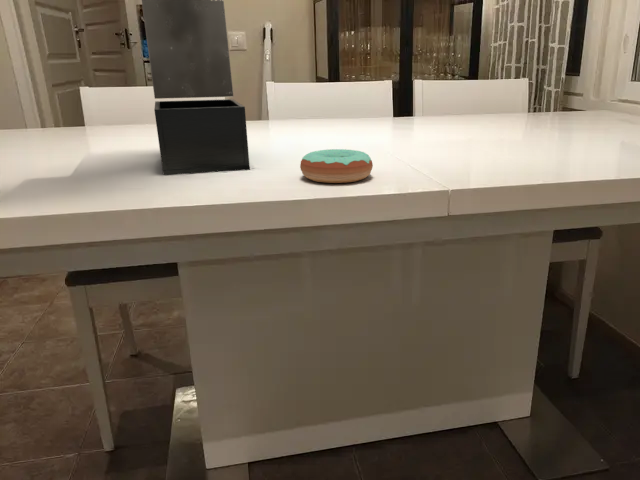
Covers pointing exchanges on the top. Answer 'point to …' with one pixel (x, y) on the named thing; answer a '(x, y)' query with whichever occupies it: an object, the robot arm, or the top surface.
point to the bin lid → (188, 48)
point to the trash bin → (202, 136)
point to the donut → (336, 165)
